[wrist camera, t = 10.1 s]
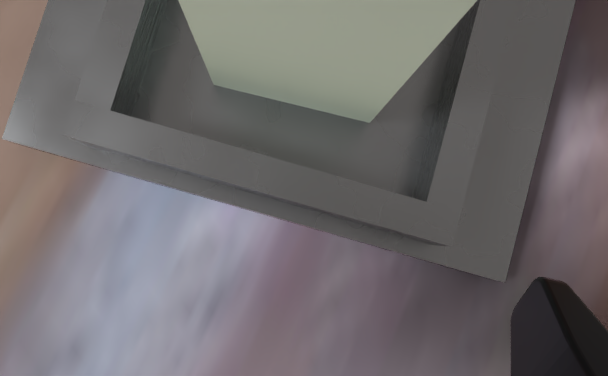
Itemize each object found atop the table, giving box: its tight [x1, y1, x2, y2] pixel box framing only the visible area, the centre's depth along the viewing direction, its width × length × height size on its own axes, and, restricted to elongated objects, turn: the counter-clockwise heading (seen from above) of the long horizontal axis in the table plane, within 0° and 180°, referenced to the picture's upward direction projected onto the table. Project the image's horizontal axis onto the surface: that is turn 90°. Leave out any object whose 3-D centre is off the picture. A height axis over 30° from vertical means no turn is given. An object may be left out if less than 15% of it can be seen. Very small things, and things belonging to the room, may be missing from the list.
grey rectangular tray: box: [2, 0, 576, 283], centre depth 18 cm, size 12×16×3 cm
